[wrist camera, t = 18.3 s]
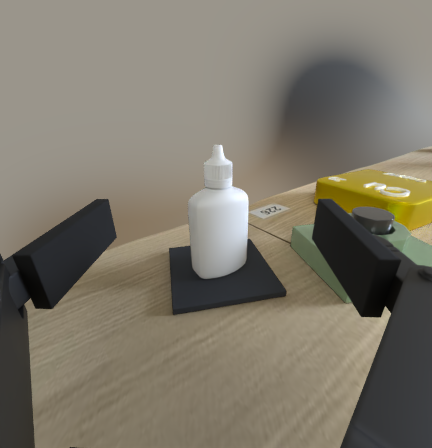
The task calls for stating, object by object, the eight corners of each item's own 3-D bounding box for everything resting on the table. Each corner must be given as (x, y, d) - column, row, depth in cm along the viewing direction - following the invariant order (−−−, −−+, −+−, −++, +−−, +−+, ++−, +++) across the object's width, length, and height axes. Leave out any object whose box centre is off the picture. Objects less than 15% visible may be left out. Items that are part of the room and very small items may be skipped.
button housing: (345, 303, 21) (357, 259, 19) (290, 246, 30) (294, 212, 28) (450, 284, 23) (470, 242, 21) (368, 235, 31) (377, 203, 30)
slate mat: (173, 315, 20) (172, 309, 20) (169, 252, 29) (169, 248, 29) (286, 296, 22) (286, 290, 21) (249, 242, 31) (249, 238, 30)
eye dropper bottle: (193, 256, 27) (185, 143, 22) (244, 254, 27) (247, 141, 22) (191, 281, 23) (180, 150, 18) (250, 279, 23) (256, 148, 18)
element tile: (455, 214, 37) (468, 183, 35) (397, 237, 31) (409, 202, 29) (362, 189, 49) (368, 165, 47) (308, 202, 43) (312, 176, 41)
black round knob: (366, 239, 22) (371, 222, 22) (340, 223, 26) (344, 208, 25) (399, 235, 23) (405, 218, 22) (370, 220, 26) (374, 204, 25)
